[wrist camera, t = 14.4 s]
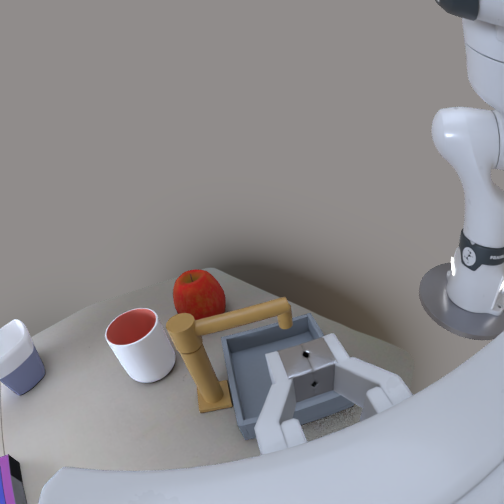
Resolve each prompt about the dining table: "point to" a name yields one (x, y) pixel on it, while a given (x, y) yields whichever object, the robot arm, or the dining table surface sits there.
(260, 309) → the spout
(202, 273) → the apple
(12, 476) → the book
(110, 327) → the cup
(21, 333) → the bowl
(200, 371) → the faucet base
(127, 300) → the dining table surface
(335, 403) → the sink
